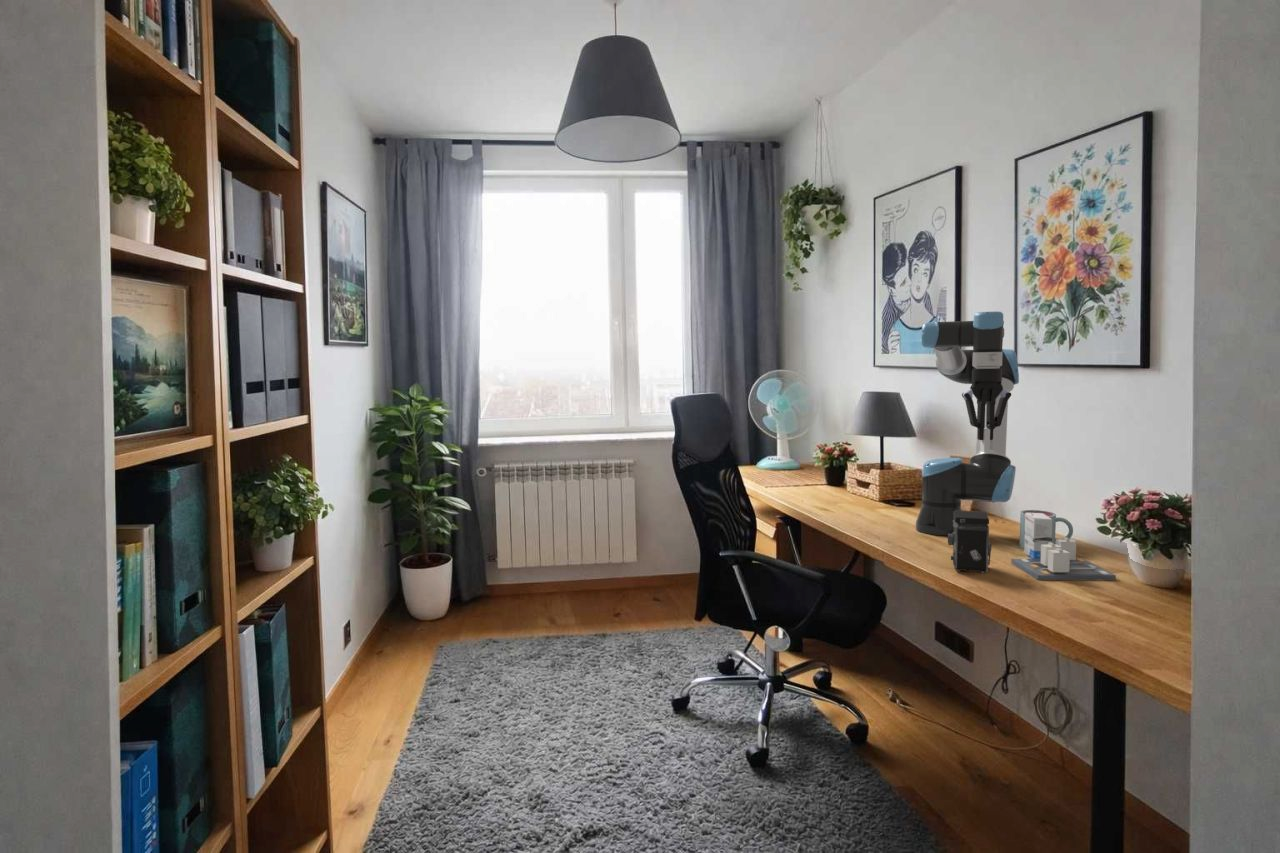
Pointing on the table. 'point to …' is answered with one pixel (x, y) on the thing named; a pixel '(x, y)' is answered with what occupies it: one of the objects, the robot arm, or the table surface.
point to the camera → (970, 541)
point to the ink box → (1037, 533)
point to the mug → (1054, 520)
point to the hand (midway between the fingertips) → (984, 451)
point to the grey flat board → (1077, 571)
